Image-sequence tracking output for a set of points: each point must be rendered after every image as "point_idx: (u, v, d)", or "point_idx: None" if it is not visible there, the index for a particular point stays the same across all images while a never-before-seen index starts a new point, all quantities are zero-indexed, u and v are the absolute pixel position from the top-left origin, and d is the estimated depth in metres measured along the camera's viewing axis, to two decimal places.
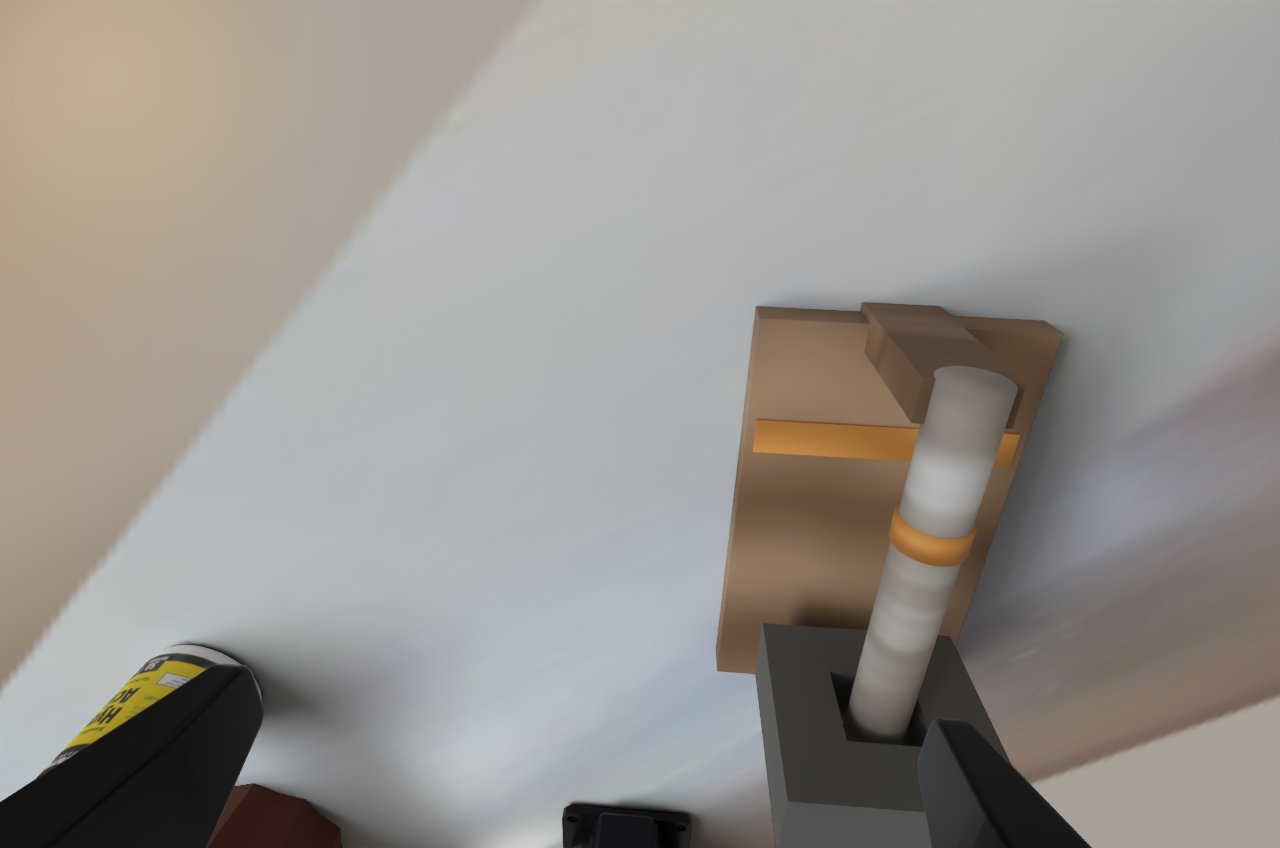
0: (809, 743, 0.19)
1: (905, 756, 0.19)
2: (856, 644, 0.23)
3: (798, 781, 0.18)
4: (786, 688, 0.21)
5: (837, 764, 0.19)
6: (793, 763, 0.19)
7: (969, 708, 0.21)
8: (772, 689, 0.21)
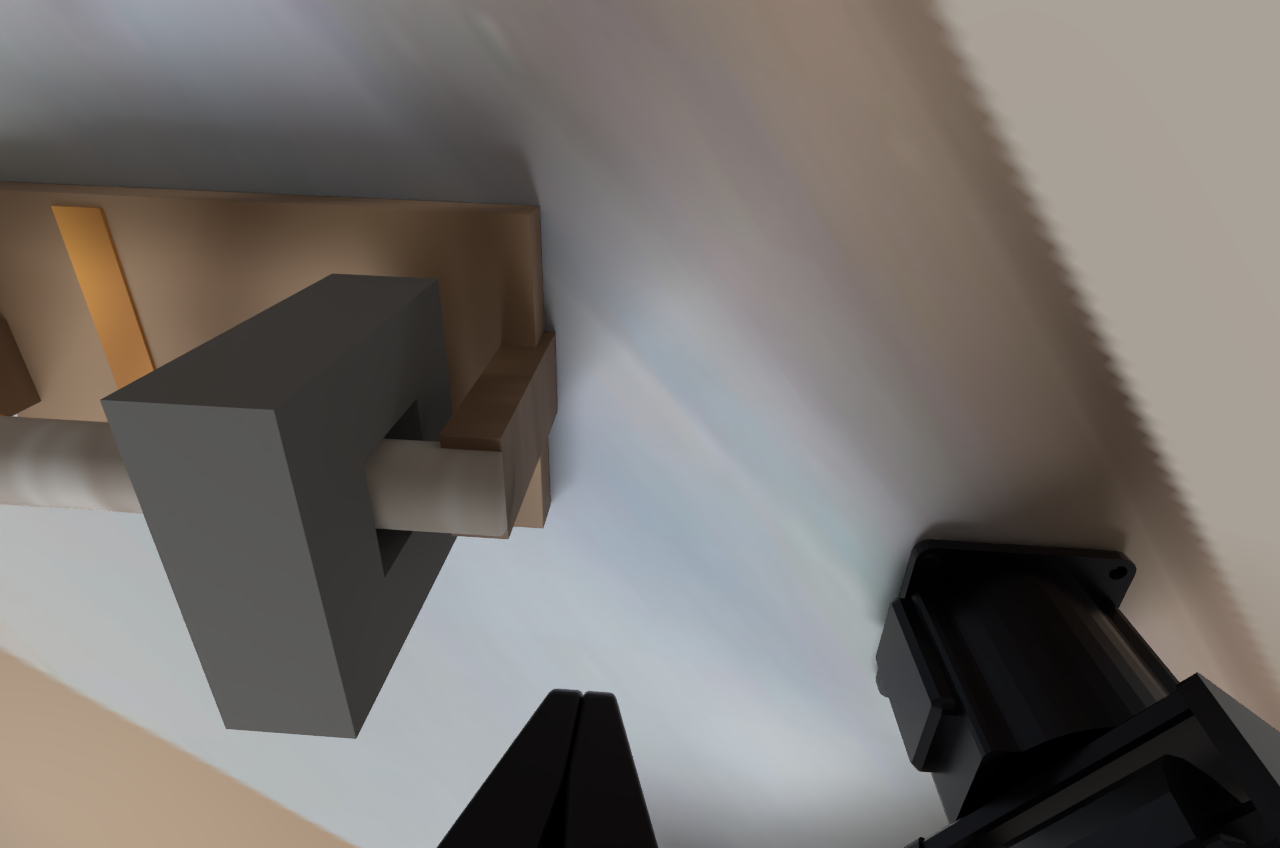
0: None
1: None
2: None
3: None
4: None
5: None
6: None
7: None
8: None
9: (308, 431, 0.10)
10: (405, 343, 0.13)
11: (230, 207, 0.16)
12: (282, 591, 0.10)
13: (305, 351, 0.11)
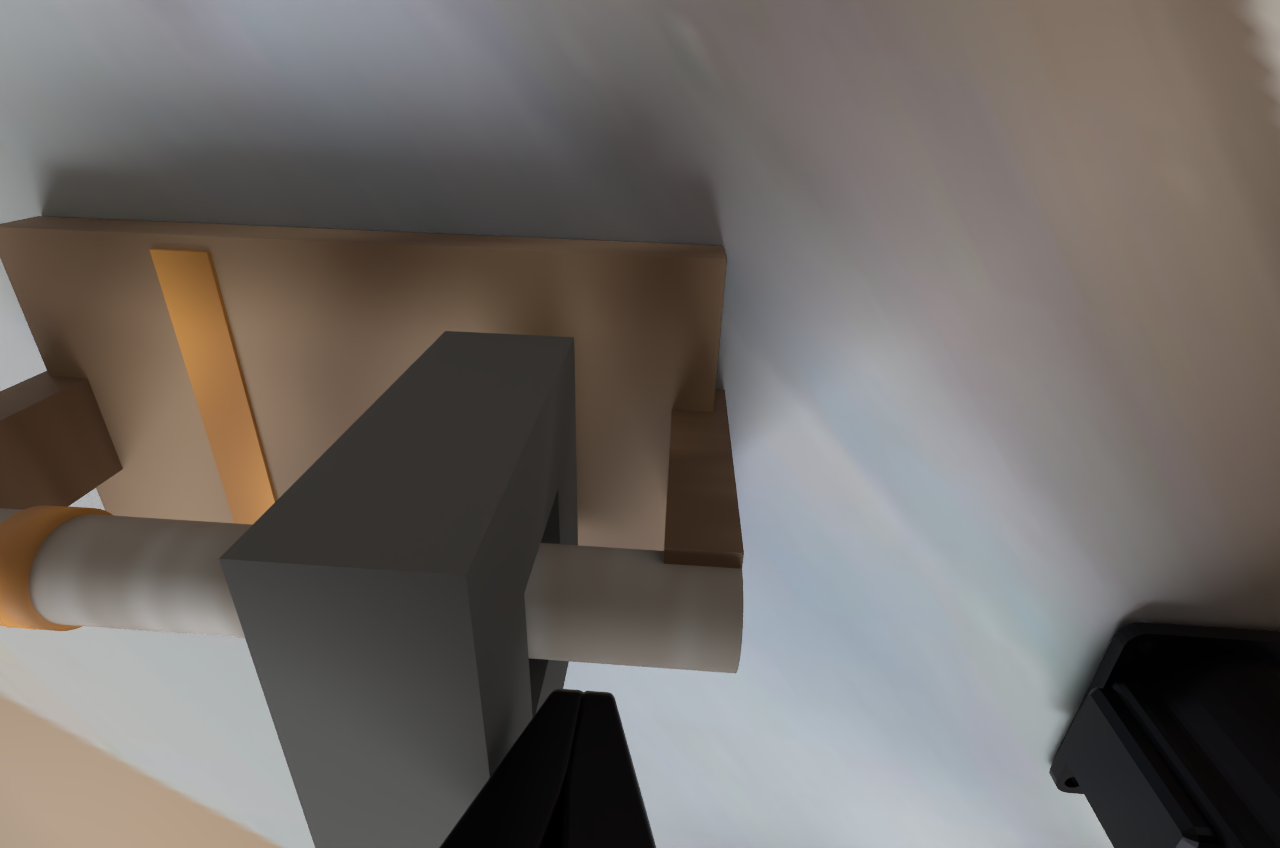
0: None
1: None
2: None
3: None
4: None
5: None
6: None
7: None
8: None
9: (489, 585, 0.07)
10: (553, 426, 0.10)
11: (363, 250, 0.13)
12: (441, 785, 0.08)
13: (463, 460, 0.08)
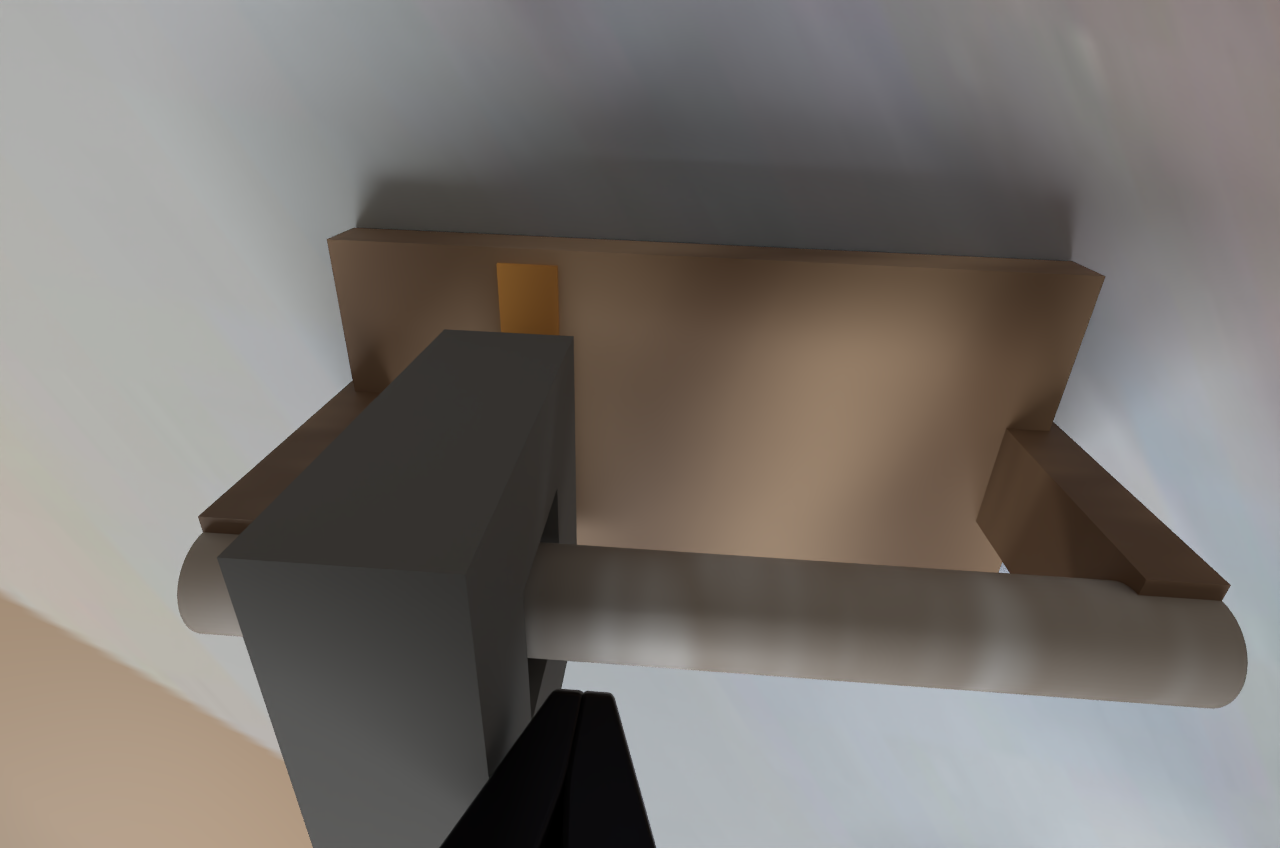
0: None
1: None
2: None
3: None
4: None
5: None
6: None
7: None
8: None
9: (488, 584, 0.07)
10: (553, 425, 0.10)
11: (721, 266, 0.13)
12: (439, 785, 0.08)
13: (463, 459, 0.08)
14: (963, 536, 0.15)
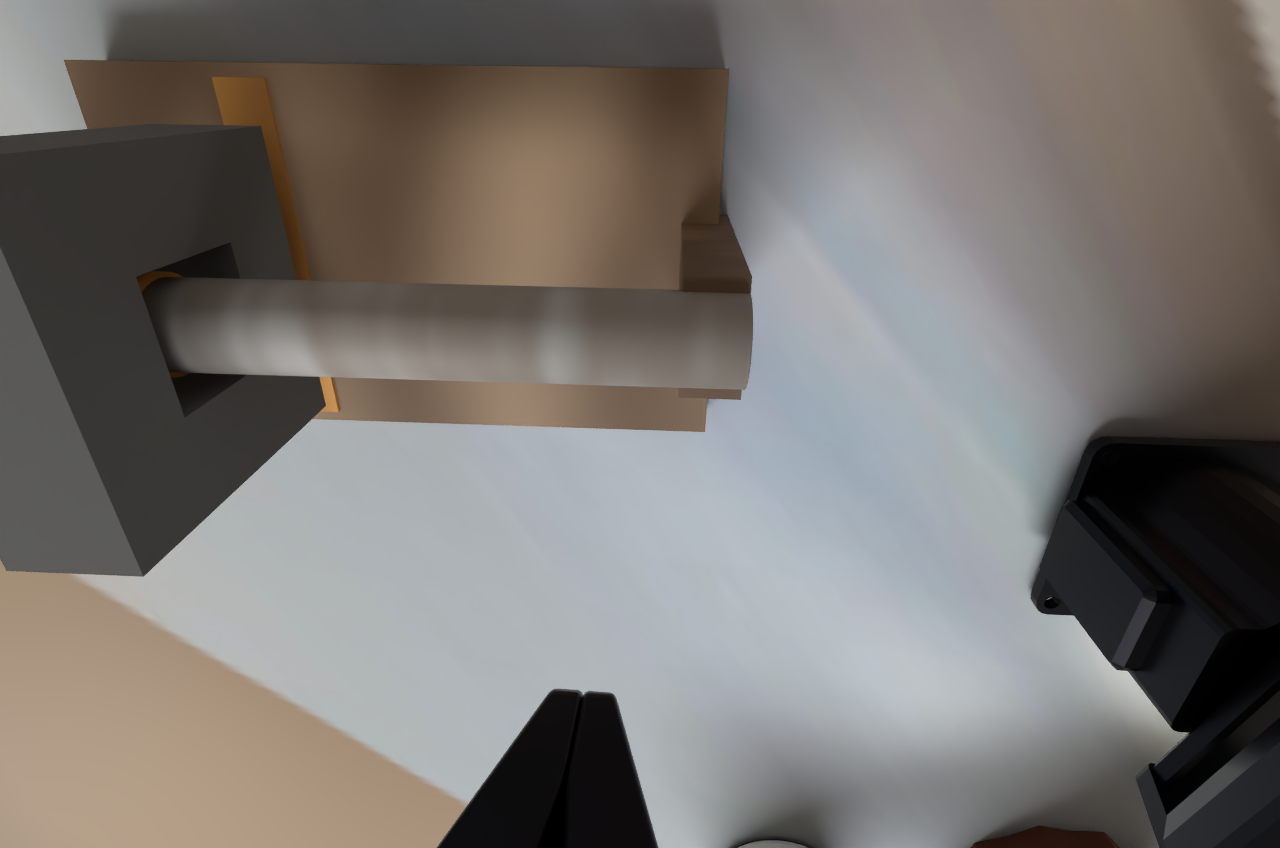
0: None
1: None
2: None
3: None
4: None
5: None
6: None
7: None
8: None
9: (29, 205, 0.09)
10: (206, 174, 0.12)
11: (404, 72, 0.15)
12: (24, 392, 0.10)
13: (51, 142, 0.10)
14: None
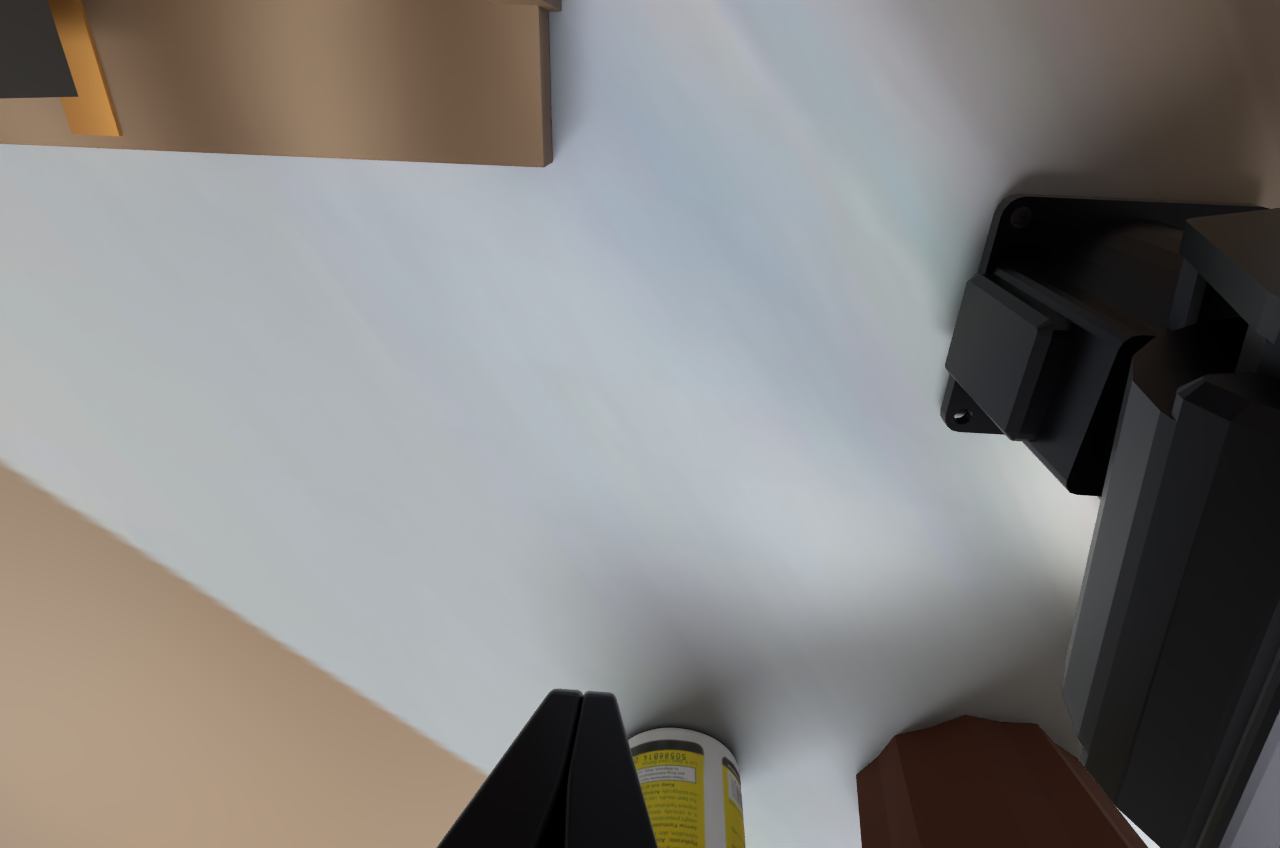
0: None
1: None
2: None
3: None
4: None
5: None
6: None
7: None
8: None
9: None
10: None
11: None
12: None
13: None
14: (491, 26, 0.15)
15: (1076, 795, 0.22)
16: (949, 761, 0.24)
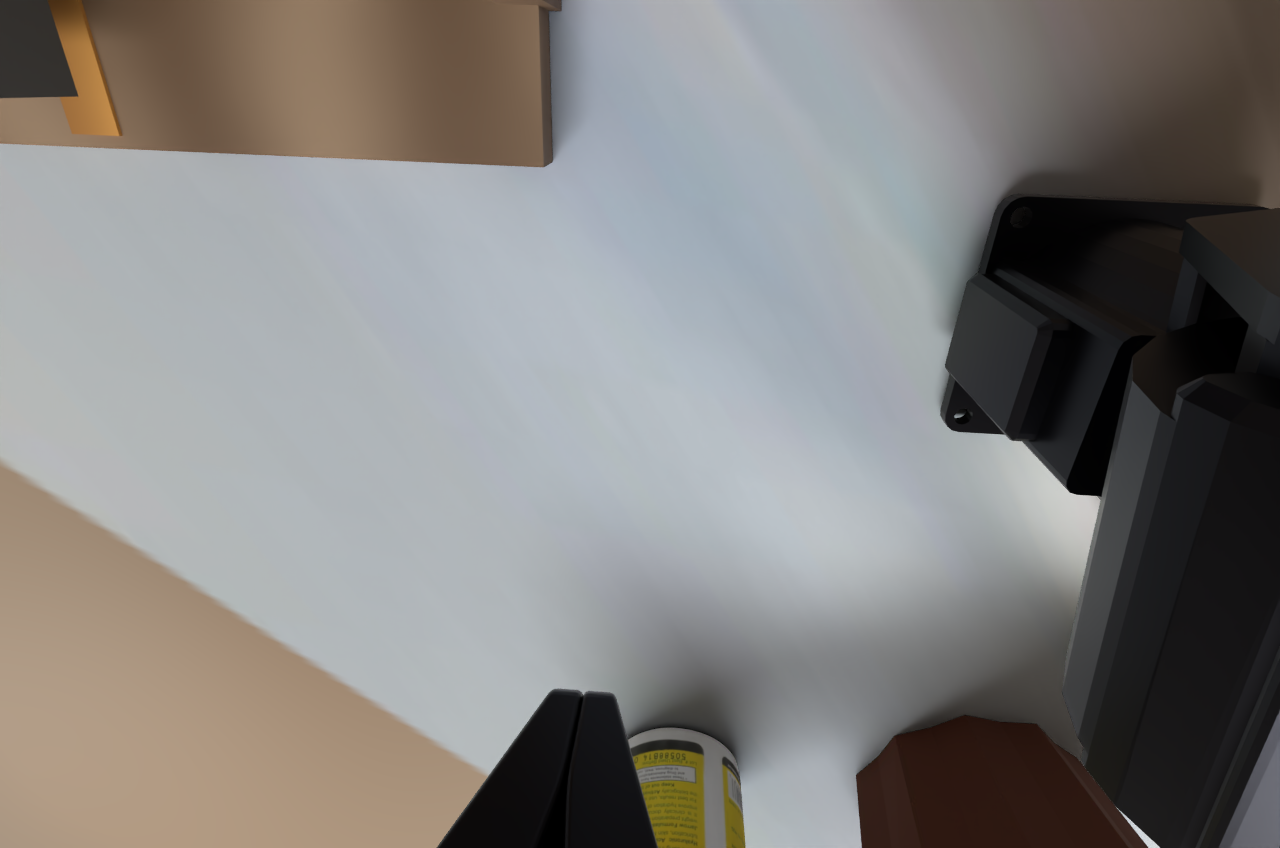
0: None
1: None
2: None
3: None
4: None
5: None
6: None
7: None
8: None
9: None
10: None
11: None
12: None
13: None
14: (491, 26, 0.15)
15: (1076, 795, 0.22)
16: (949, 760, 0.24)
